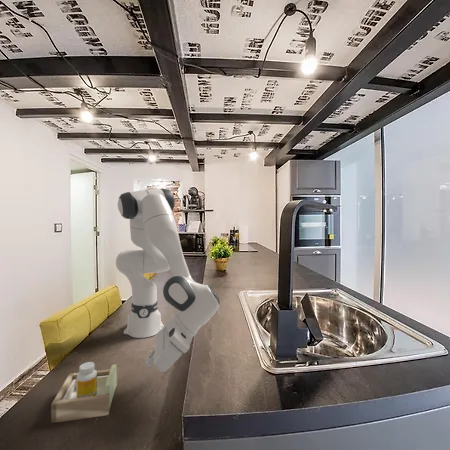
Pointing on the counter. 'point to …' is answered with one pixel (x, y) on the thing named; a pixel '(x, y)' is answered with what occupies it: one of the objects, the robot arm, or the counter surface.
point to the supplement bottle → (86, 381)
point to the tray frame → (79, 403)
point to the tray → (103, 386)
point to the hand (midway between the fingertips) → (147, 364)
